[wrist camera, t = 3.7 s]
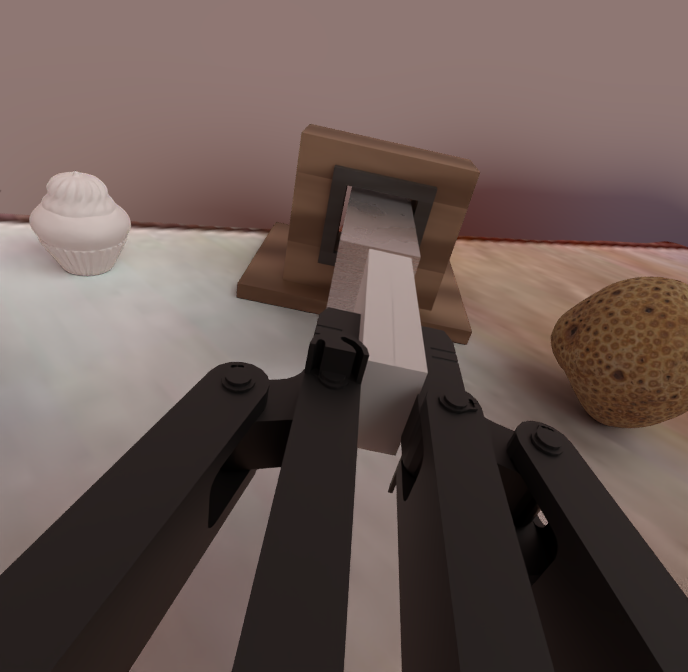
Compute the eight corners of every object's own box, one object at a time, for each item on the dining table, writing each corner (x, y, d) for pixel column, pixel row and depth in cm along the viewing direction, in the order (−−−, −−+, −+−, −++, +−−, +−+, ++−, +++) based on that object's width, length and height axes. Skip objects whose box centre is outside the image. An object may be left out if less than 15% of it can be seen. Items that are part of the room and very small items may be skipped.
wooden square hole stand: (466, 344, 34) (532, 190, 28) (236, 297, 33) (247, 126, 27) (445, 269, 46) (487, 148, 39) (274, 233, 45) (289, 103, 38)
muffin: (28, 254, 33) (7, 156, 29) (115, 244, 37) (107, 156, 33) (54, 293, 29) (34, 188, 25) (147, 277, 33) (141, 184, 29)
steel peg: (399, 325, 25) (420, 257, 22) (326, 310, 25) (340, 239, 22) (392, 208, 43) (403, 164, 41) (350, 199, 43) (359, 154, 41)
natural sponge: (501, 394, 30) (572, 259, 24) (557, 356, 35) (624, 240, 30) (640, 490, 25) (768, 347, 19) (678, 428, 30) (785, 304, 25)
